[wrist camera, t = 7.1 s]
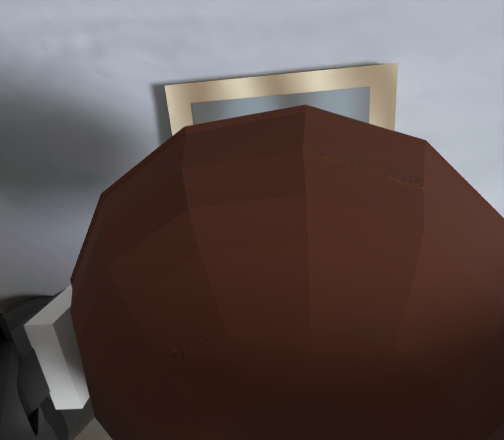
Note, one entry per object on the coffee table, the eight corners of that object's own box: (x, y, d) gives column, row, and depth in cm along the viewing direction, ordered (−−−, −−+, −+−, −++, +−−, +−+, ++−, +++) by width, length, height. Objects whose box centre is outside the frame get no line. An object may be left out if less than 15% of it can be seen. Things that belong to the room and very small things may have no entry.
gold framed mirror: (198, 277, 33) (195, 285, 31) (170, 86, 27) (164, 85, 26) (381, 269, 31) (386, 277, 30) (391, 65, 26) (398, 62, 24)
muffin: (468, 238, 14) (867, 493, 5) (295, 382, 17) (326, 714, 8) (263, 43, 12) (243, -194, 3) (109, 246, 15) (-156, 468, 6)
